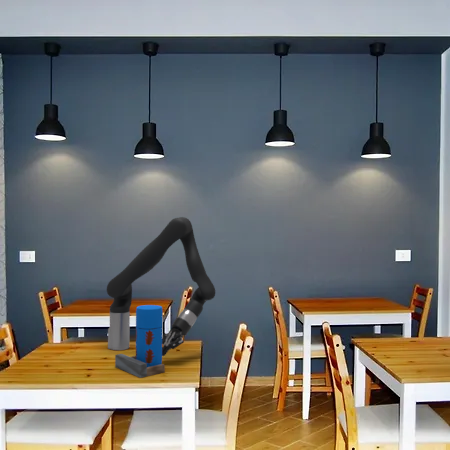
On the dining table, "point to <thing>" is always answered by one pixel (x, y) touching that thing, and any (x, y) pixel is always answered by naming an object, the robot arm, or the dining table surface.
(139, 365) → the bay
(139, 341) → the thermos
